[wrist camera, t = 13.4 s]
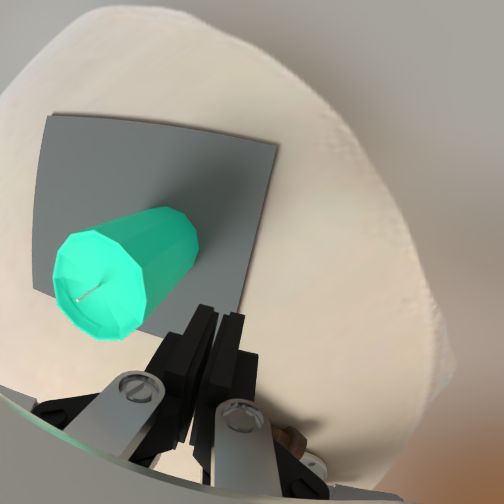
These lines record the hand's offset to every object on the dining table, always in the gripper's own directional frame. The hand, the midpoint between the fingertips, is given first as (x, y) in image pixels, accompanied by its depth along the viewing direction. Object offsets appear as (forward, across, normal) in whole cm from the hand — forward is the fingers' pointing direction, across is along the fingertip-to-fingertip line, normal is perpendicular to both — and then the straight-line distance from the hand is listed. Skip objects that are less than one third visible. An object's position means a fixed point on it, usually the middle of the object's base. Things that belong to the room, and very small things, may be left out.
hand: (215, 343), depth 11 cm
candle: (+13, +7, +1) cm, 15 cm away
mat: (+14, +11, +1) cm, 18 cm away
